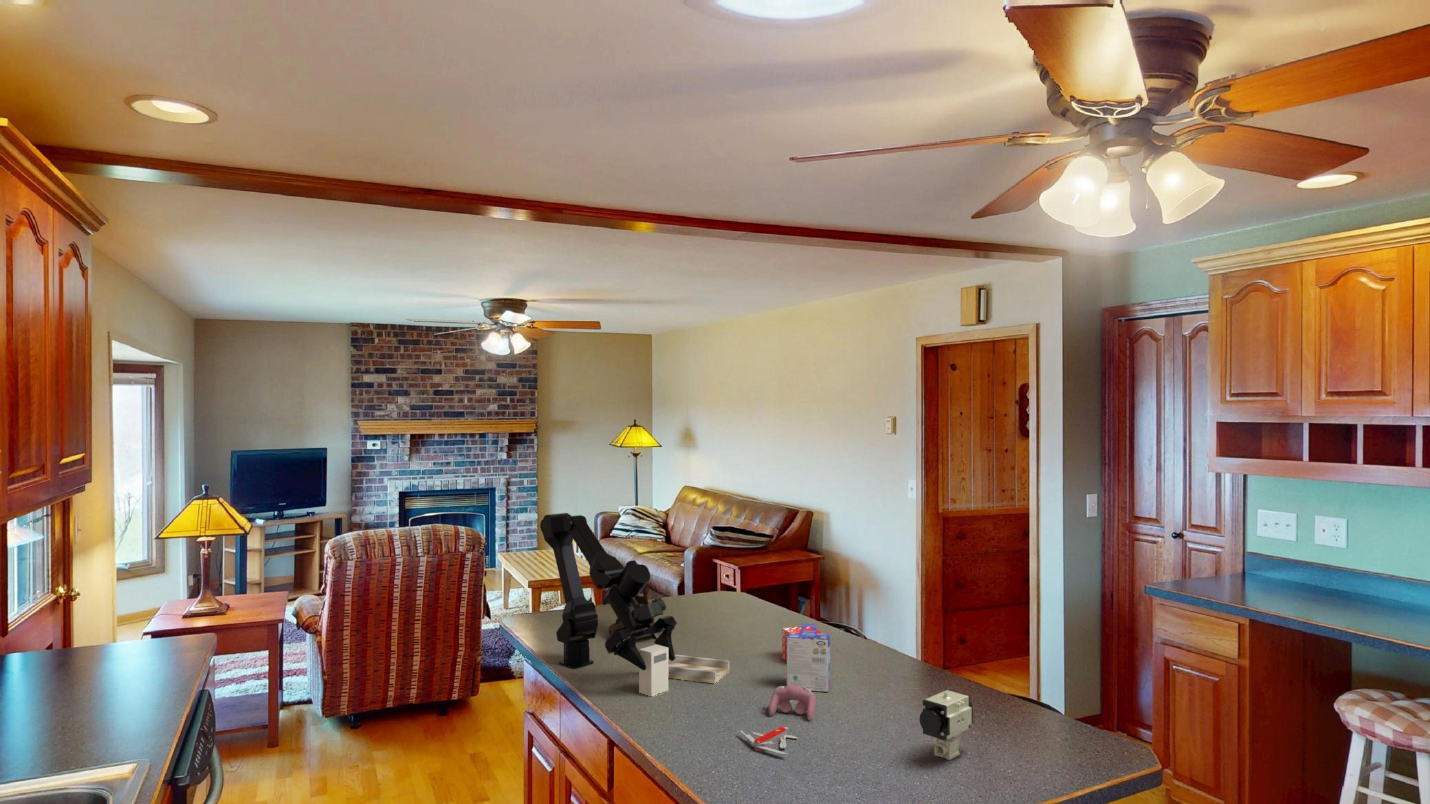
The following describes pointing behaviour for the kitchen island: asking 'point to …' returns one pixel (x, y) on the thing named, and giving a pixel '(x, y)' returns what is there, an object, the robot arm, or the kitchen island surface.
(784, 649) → the red patterned cube
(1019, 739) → the kitchen island surface
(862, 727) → the kitchen island surface
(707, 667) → the mounting rail
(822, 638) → the ink cartridge box
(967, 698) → the pneumatic valve
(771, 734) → the swiss army knife
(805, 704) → the video game controller
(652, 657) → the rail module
